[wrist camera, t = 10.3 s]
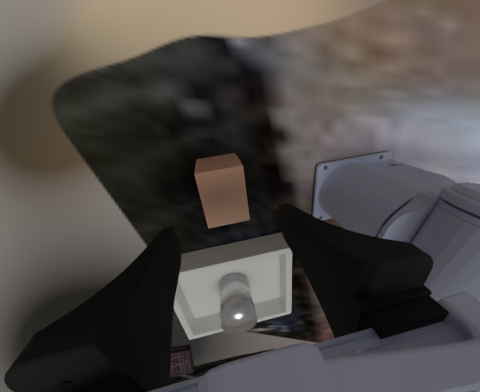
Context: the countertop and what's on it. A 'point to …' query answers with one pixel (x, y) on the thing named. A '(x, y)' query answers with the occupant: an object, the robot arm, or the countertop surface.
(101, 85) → the countertop surface
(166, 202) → the countertop surface
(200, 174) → the carton
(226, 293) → the tin
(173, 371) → the chocolate bar
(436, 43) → the countertop surface
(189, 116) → the countertop surface
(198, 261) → the tray
